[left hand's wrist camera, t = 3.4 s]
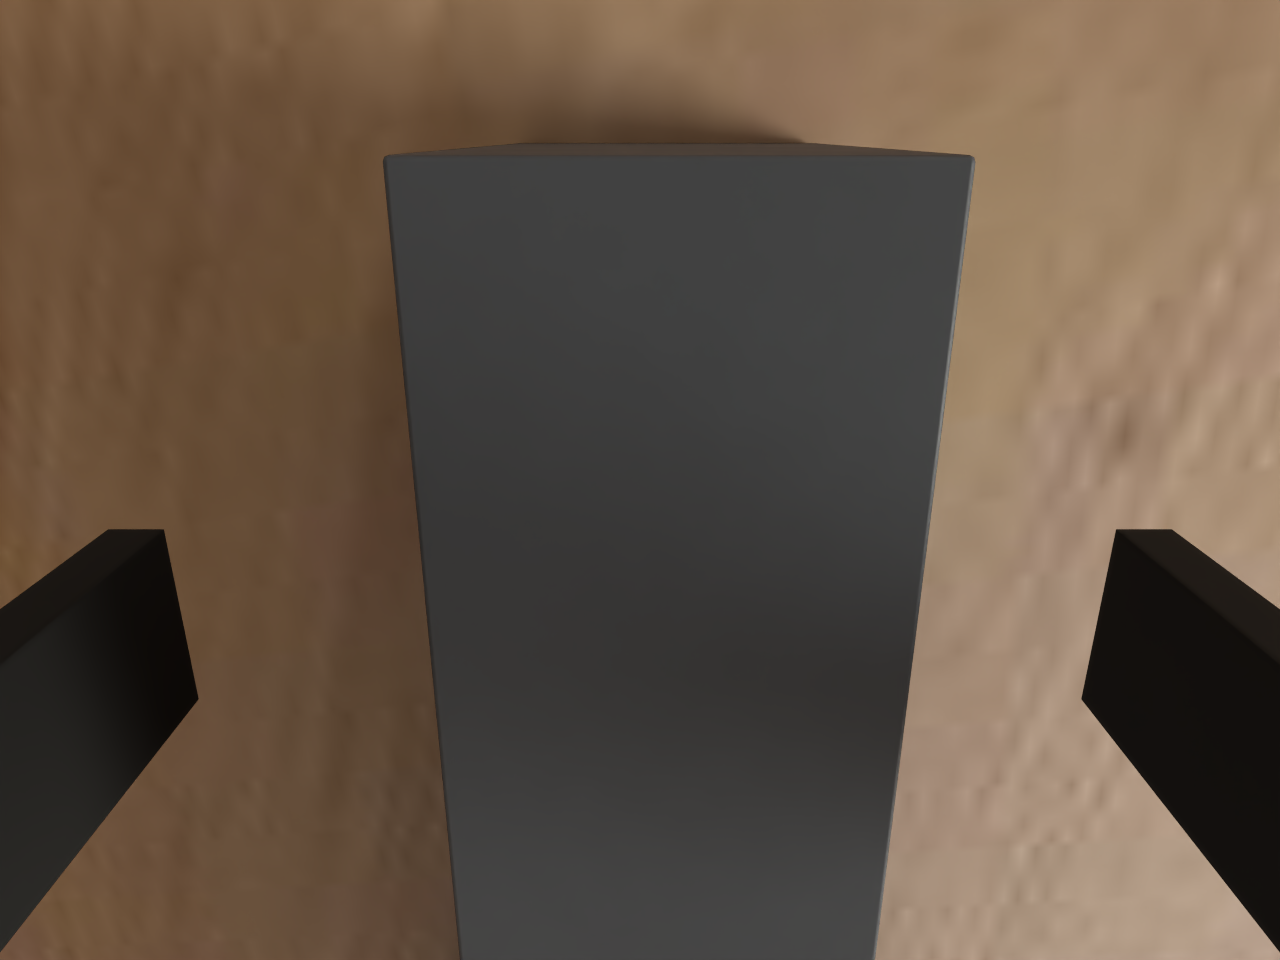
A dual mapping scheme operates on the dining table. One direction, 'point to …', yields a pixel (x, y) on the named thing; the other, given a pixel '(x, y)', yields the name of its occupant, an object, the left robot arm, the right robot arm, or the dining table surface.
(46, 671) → the left robot arm
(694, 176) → the beam
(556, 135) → the dining table surface
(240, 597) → the dining table surface
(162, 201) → the dining table surface
